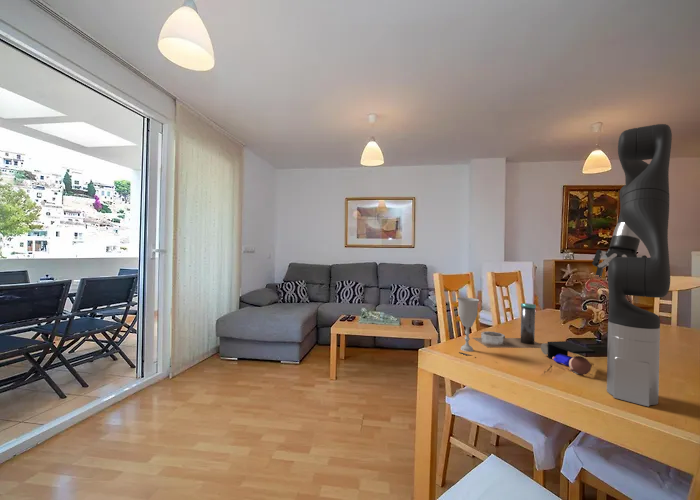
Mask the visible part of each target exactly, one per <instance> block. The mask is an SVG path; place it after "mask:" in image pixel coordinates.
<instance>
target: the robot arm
mask: <svg viewBox="0 0 700 500" xmlns="http://www.w3.org/2000/svg"><path fill="white" fill-rule="evenodd" d="M672 133H673V132H672V129H671V127H670V126H669V125H668V124H666V123H657V124H651V125H645V126H641V127H633V128H628V129H625V130H623V131H622V132H621V133H620V134H619V137H618V143H617V155H618V159H619V162H620V166H621V167H622V168H621V169H622V170H623V173H624V178H625V179H624V180H625V185H623V186H622V187H621V188H620V189H619V203H620V211H619V214H618V215H619V217H618V220H617V223H616V226H615V228H614V230H613V233H612V238H611V240H610V244H609V248H608V249H607V251H605V250H601V249H597V250H596V252H595V254H594V257H593V260H592V263H591V264H592V266H594V267H596V268H597V269H596V272H595V276H596V275H599V277H600V276H601V277H600V278H601V279H602V276H603V272H604V269H605V268H606V267H608V268H607V285H608V286H607V287H608V317H607V318H608V319H607V321H608V322H607V351H606V352H607V355H606V356H607V358H606V360H607V361H606V362H607V363H606V392H607V393H608V394H609V395H611V396H612V398H615V399H617V400H622V401H625V402H629V403H633V404H637V405H640V406H644V407H650V406H655V405H658V404H659V397H660V396H659V393H660V392H659V391H660V390H659V388H660V346H661V344H660V343H661V341H660V340H661V318H660V316H659V314H657V313H654V312H653V311H649V310H646V309H644V308H641V307H639V306H637V305H635V304H634V303H632V302H630V301H629V300H628V299H627V298H626V296H633V297H643V298H656V299H657V298H658V299H660V298H663V297H666V296H667V295H668V293H669V290H670V287H671V266H670V265H671V264H670V254H669V252H670V251H669V237H668V234H669V233H668V232H669V219H670V218H669V216H670V180H669V177H670V176H669V172H670V159H671V150H672V144H673V141H672V139H673V134H672ZM647 160H651V161H650V162H649V163H648V162H646V161H647ZM640 242H642V243H643V244H644V246H645V248H646V250H647V252H648V254H649V256H650V257H647V255H637V253H638V249H639V246H640ZM605 256H606V257H607V258H605V259H604V260H603V261H602V262H600V261H601V258H603V257H605Z"/></svg>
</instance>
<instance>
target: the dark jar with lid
mask: <svg viewBox="0 0 700 500" xmlns="http://www.w3.org/2000/svg"><path fill="white" fill-rule="evenodd" d="M520 307H521V308H520V311H521V312H520V315H521V316H520V338H521V343H524V344H534V341H535V337H536V336H535V333H536V331H535V330H536V308H537V305H536V303H535V304H534V303H527V302H526V303H525V302H522V303H520Z"/></svg>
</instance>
